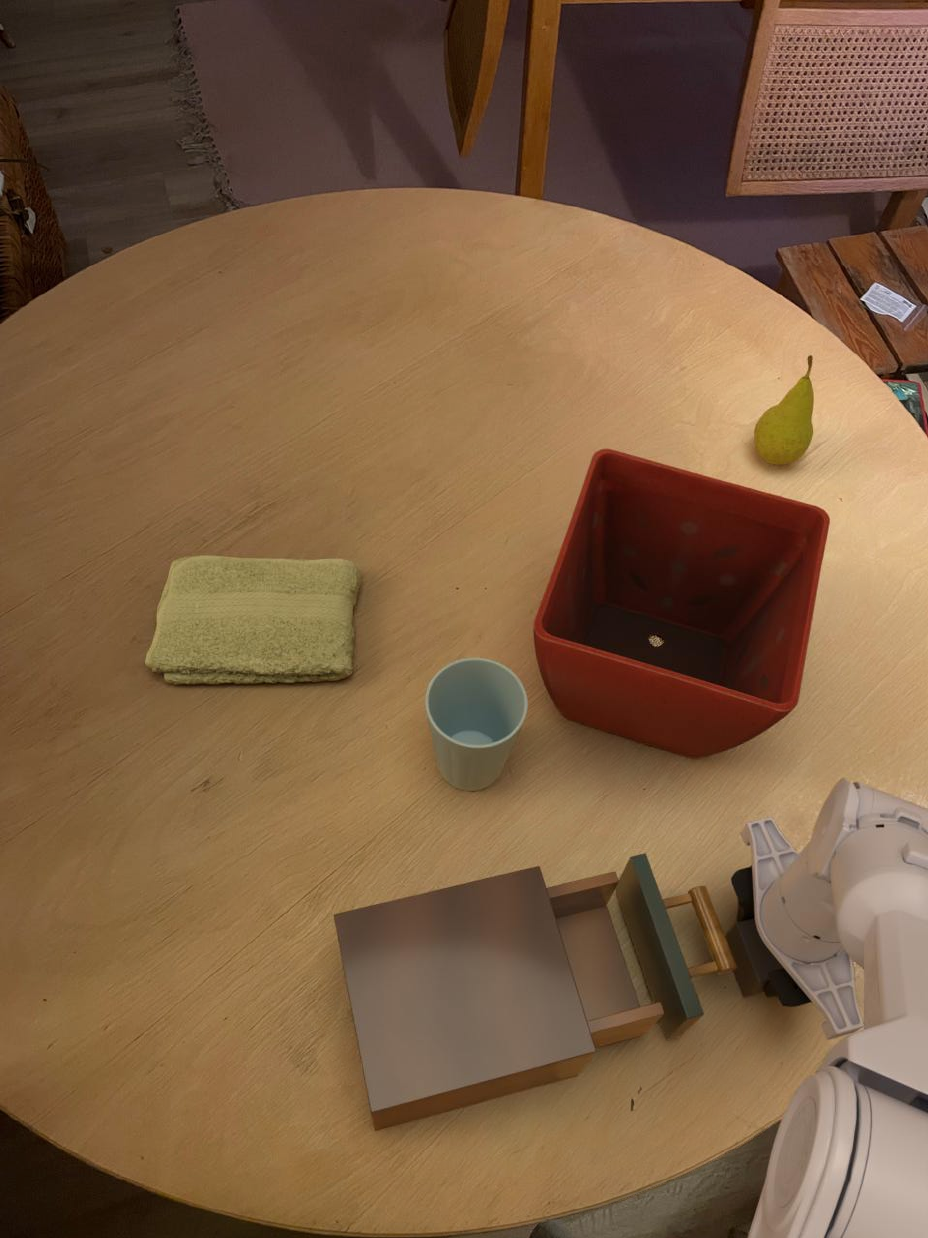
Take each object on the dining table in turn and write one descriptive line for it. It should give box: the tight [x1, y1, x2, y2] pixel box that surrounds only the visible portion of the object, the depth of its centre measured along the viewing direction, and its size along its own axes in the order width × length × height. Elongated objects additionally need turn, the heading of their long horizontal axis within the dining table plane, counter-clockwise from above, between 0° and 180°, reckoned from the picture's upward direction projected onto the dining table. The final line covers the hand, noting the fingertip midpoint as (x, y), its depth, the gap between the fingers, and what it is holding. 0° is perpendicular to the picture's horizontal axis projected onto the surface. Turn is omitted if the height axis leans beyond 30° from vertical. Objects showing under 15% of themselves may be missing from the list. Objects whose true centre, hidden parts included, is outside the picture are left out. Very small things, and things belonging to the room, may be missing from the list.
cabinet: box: [333, 865, 597, 1132], centre depth 72 cm, size 15×13×9 cm
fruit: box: [753, 354, 815, 466], centre depth 101 cm, size 6×6×12 cm
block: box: [725, 918, 784, 999], centre depth 76 cm, size 4×4×4 cm
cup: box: [424, 657, 529, 792], centre depth 82 cm, size 8×8×10 cm
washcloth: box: [144, 554, 362, 686], centre depth 91 cm, size 13×18×3 cm
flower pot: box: [532, 448, 831, 759], centre depth 84 cm, size 19×19×17 cm
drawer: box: [546, 852, 737, 1049], centre depth 73 cm, size 18×11×7 cm, turn 104°
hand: (763, 957), depth 77 cm, fingers closed on block, 4 cm apart
